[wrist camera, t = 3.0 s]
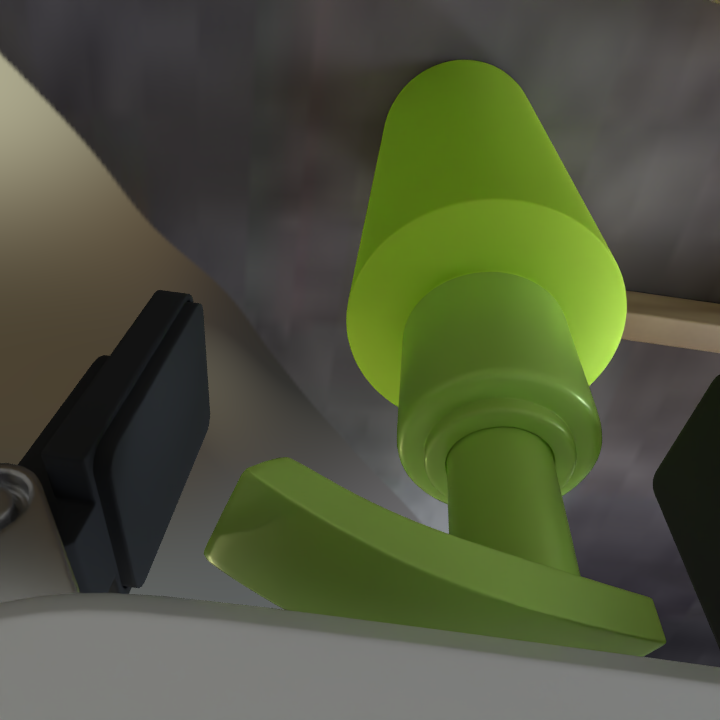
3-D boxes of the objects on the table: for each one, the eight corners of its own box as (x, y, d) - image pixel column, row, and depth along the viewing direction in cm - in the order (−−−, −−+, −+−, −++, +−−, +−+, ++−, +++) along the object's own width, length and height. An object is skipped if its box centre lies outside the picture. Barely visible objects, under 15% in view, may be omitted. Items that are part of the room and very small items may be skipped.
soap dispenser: (400, 14, 20) (303, 365, 4) (566, 104, 21) (947, 625, 6) (336, 164, 24) (153, 661, 8) (482, 234, 25) (576, 783, 9)
